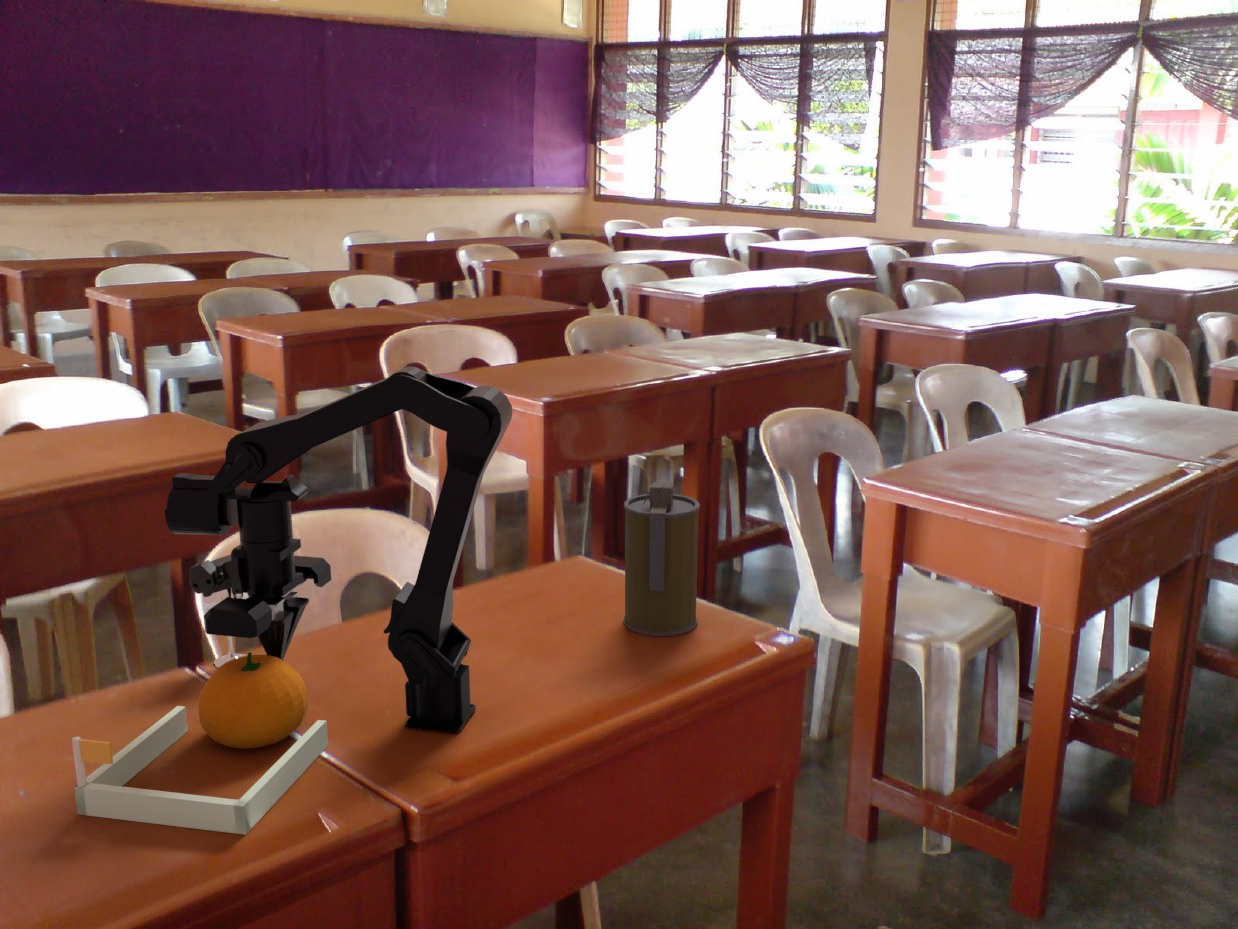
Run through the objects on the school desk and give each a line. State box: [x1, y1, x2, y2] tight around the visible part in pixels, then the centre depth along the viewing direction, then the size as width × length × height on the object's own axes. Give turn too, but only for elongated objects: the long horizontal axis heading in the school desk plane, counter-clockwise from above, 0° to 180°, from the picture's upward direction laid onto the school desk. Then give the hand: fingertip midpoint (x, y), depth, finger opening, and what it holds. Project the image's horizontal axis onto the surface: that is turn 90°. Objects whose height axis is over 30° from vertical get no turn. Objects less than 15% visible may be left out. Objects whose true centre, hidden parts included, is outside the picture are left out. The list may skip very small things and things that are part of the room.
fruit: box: [198, 652, 309, 749], centre depth 129 cm, size 12×12×10 cm
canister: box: [622, 480, 701, 637], centre depth 160 cm, size 11×10×20 cm
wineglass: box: [201, 588, 249, 669], centre depth 148 cm, size 6×6×12 cm
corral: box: [71, 705, 329, 836], centre depth 120 cm, size 18×18×8 cm
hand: (276, 663), depth 134 cm, fingers closed
